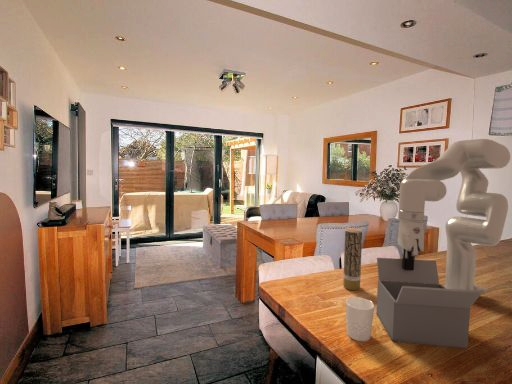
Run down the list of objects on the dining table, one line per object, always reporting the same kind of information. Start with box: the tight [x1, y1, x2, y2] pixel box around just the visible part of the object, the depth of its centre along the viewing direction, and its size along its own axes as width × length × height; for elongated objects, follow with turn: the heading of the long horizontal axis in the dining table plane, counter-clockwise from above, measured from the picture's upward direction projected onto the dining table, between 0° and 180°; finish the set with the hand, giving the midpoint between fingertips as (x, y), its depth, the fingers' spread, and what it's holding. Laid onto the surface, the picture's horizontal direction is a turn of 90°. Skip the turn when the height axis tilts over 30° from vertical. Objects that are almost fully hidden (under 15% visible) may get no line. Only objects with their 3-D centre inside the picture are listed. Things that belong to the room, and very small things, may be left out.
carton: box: [376, 280, 471, 349], centre depth 87 cm, size 20×16×12 cm
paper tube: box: [342, 227, 363, 291], centre depth 118 cm, size 7×7×25 cm
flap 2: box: [396, 286, 482, 310], centre depth 76 cm, size 8×19×1 cm
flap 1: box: [376, 257, 440, 284], centre depth 96 cm, size 8×19×1 cm
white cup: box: [345, 296, 375, 342], centre depth 84 cm, size 8×8×10 cm
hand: (407, 269), depth 95 cm, fingers closed
